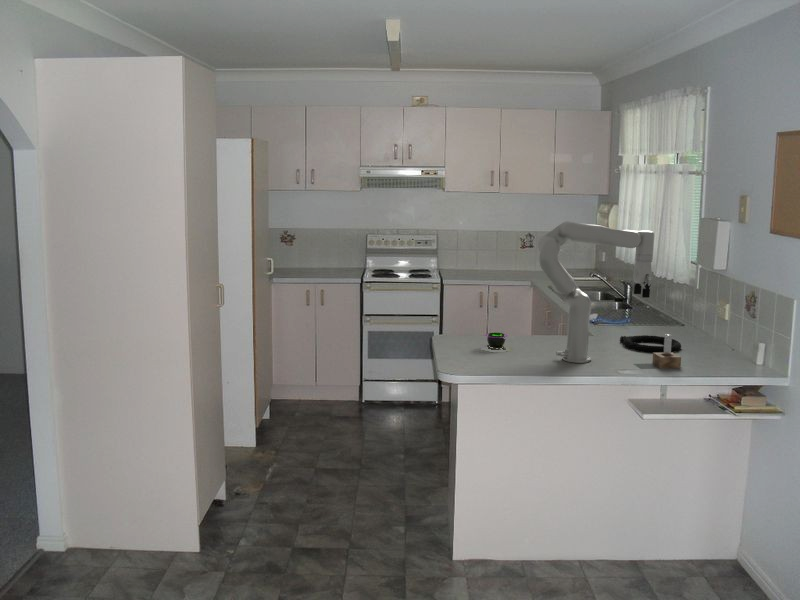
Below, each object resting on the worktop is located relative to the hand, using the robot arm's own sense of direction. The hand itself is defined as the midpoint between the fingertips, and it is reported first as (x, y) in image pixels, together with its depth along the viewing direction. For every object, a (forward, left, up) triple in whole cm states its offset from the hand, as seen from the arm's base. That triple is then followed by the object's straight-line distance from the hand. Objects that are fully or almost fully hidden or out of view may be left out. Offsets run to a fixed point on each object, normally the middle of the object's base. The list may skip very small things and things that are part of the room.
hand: (641, 295), depth 356 cm
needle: (+8, -13, -30) cm, 33 cm away
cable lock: (+17, +27, -31) cm, 44 cm away
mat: (+4, -13, -30) cm, 33 cm away
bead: (+8, -13, -30) cm, 33 cm away
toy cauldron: (-61, +27, -31) cm, 73 cm away
